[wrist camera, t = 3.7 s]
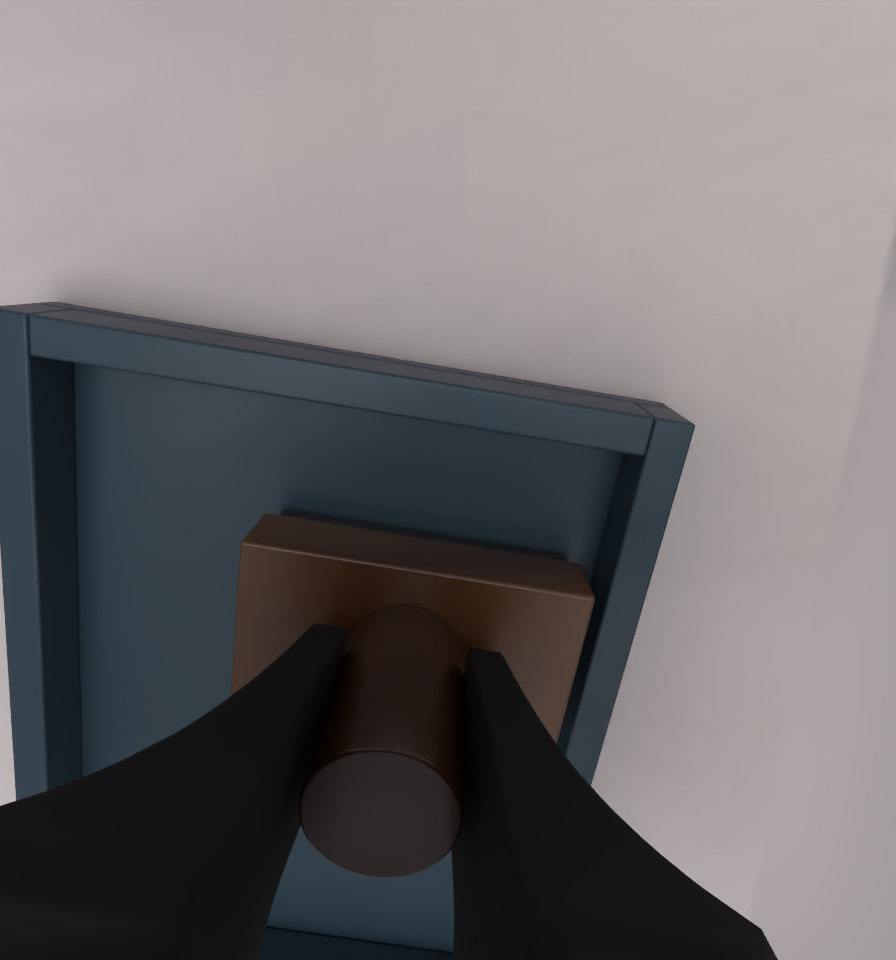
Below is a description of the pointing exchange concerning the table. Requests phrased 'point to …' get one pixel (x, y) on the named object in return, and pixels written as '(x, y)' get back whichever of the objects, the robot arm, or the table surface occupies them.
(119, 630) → the tray
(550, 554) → the wooden stamp
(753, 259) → the table surface
